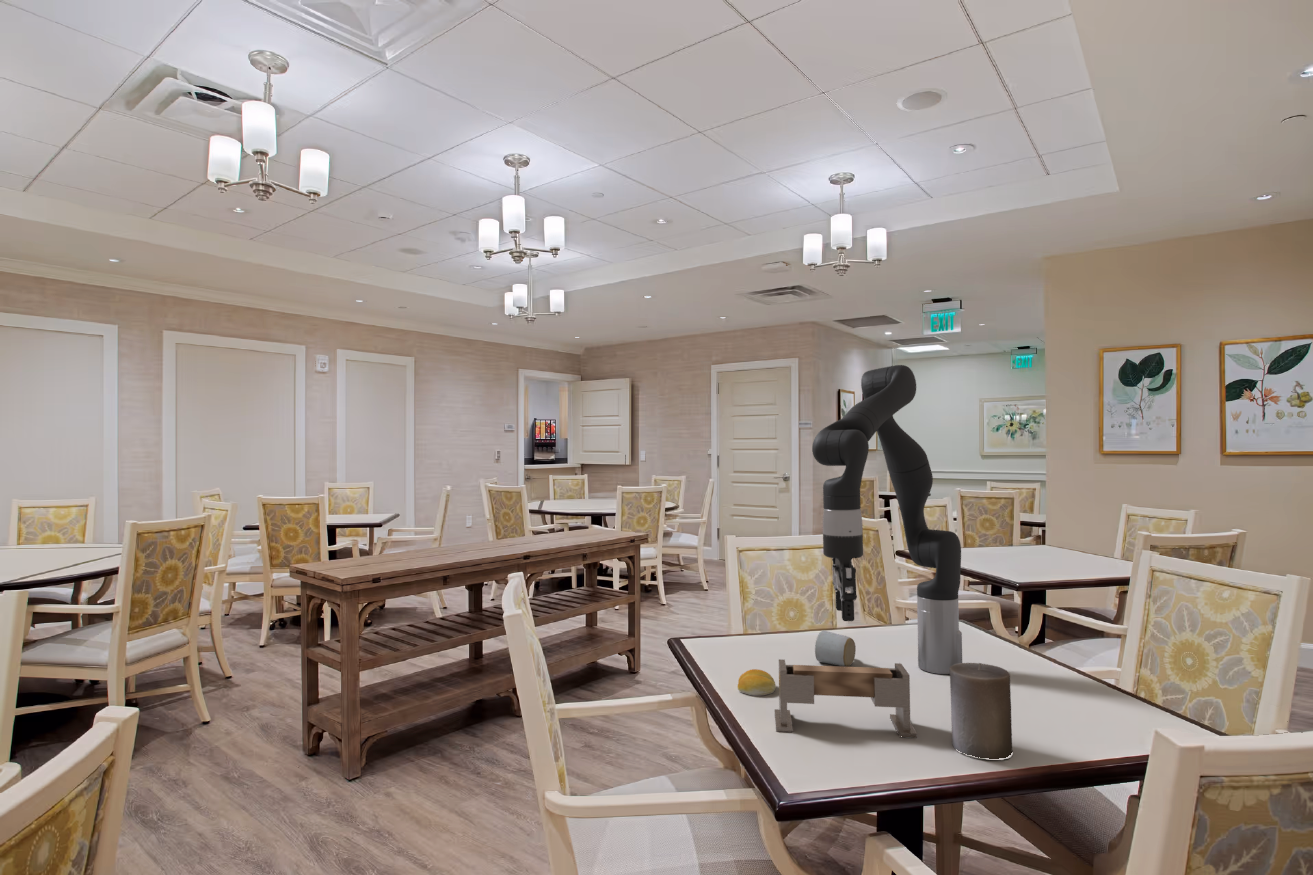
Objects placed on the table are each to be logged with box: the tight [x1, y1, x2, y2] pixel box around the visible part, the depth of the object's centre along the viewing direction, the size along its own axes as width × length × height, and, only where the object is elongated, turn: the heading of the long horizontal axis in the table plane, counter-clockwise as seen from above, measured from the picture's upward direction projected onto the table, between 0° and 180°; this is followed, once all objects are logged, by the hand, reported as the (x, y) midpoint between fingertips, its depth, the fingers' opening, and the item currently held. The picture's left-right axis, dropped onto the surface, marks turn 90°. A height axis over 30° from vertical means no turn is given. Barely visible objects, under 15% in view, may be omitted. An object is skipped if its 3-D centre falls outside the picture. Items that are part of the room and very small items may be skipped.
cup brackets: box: [774, 658, 918, 739], centre depth 130 cm, size 25×9×11 cm, turn 82°
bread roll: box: [737, 668, 777, 697], centre depth 150 cm, size 8×9×4 cm
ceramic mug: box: [814, 630, 856, 667], centre depth 169 cm, size 11×8×8 cm
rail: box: [792, 664, 892, 698], centre depth 130 cm, size 18×4×4 cm, turn 82°
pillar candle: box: [949, 662, 1014, 759], centre depth 119 cm, size 10×10×15 cm
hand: (844, 615), depth 132 cm, fingers open, 8 cm apart
